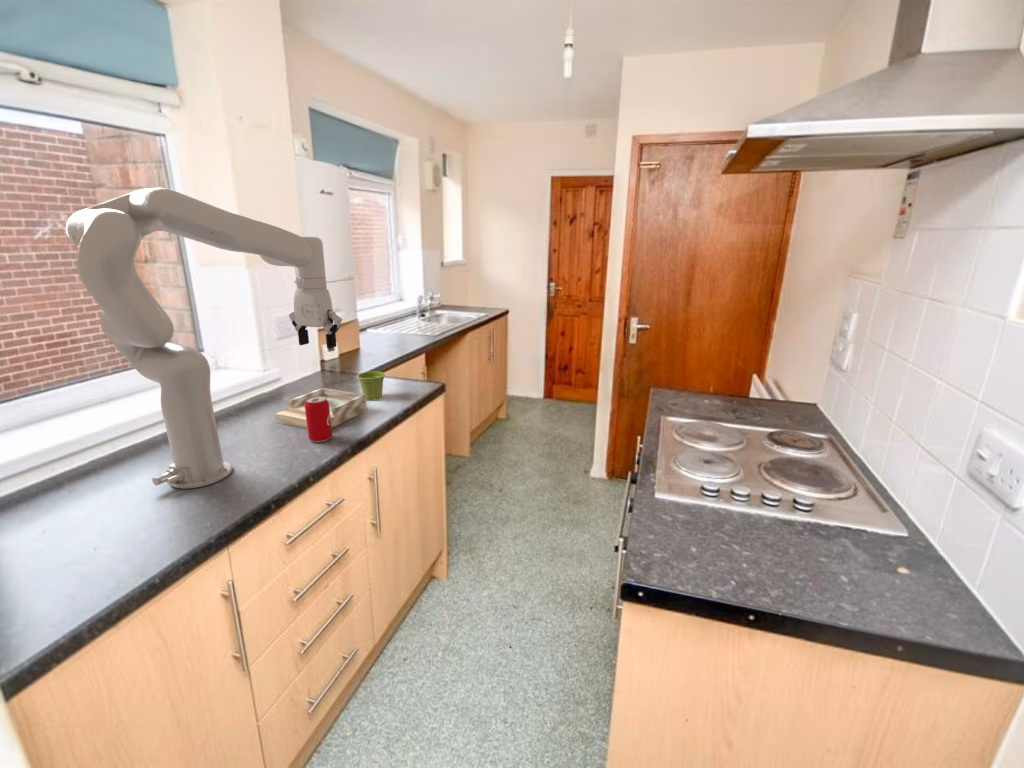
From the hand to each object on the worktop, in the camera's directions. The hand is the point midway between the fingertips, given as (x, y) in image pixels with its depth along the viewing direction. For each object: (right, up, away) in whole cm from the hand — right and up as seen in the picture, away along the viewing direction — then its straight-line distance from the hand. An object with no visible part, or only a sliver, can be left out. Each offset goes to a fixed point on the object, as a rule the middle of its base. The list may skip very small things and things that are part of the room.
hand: (317, 345), depth 134 cm
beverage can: (+1, -27, 0) cm, 27 cm away
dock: (-5, -21, +17) cm, 27 cm away
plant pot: (+5, -16, +34) cm, 38 cm away
